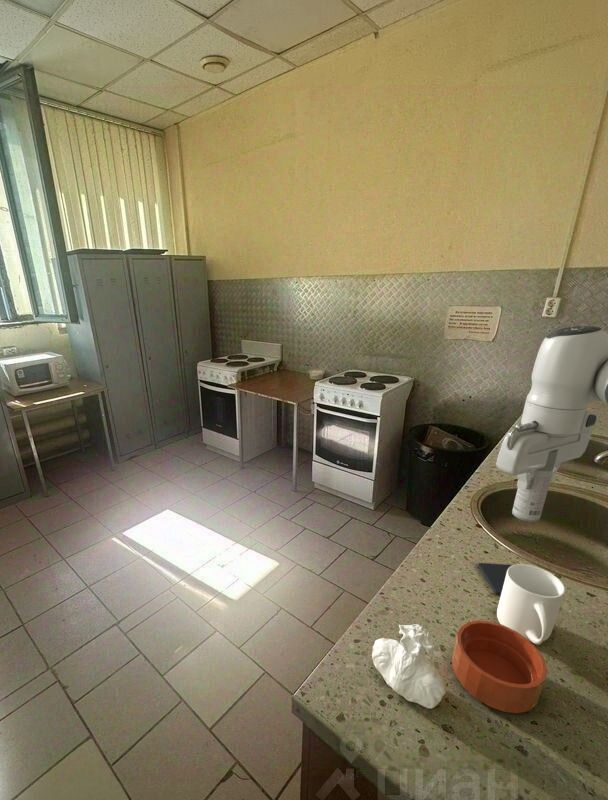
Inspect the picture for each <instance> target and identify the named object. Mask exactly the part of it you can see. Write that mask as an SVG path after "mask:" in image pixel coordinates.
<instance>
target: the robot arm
mask: <svg viewBox="0 0 608 800" xmlns="http://www.w3.org/2000/svg"><path fill="white" fill-rule="evenodd" d="M591 402H603V403H604V404H605V405H607V406H608V332H606V331H605V330H604V329H603V328H601V327H599V326H594V325H585V326H584V325H582V326H581V325H580V326H579V325H578V326H569V327H563V328H559V329H556V330H553V331H552V332H550V333H549V334H547V335H546V336H545V337H544V339H543V340H542V342H541V344H540V347H539V349H538V351H537V355H536V357H535V360H534V365H533V368H532V372H531V388H530V390H529V392H528V394H527V396H526V397H525V403H524V406H523V411H522V416H521V420H520V423H521V424H517V425H515V427H514V428H513V429H512V430H511V431H510V432H508V433H507V434H506V435H505V437H504V439H503V440H502V443H501V446H500V449H499V452H498V454H497V458H496V463H495V466H496V468H497V469H498V470H499V471H501V472H503V473H505V474H507V475H510V476H512V477H514V476H516V477H517V483H516V487H517V489H518V488H520V489H522V490H526V489H529V488H531V485H532V482H533V481H531V480H530V478H529V475H531V474H532V471H533V470H537V469H540V468H543V467H545V465H546V462H547V458H548V454H549V452H551V451H554V450H558V452H557V456H556V461H555V465H554V469H553V473H552V477H551V481H550V483H551V482H553V478H554V475H555V474H556V472H557V471H558V470H559V468H560V467H561V465H562V463H565V462H568V461H572V460H575V459H579V458H581V457H582V456H583V454H584V453H585V452H586V450H587V447H588V445H589V442H590V440H591V437H592V434H593V427H594V426H596V425H597V424H598V422H599V419H600V415H599V413H595V412H591V411H588V410H587V408H588V405H589V404H590V403H591Z"/></svg>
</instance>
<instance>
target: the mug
mask: <svg viewBox="0 0 608 800" xmlns="http://www.w3.org/2000/svg"><path fill="white" fill-rule="evenodd" d="M511 565H512V566H510V567H509V568H508V570H507V573H506V577H505V581H504V585H503V589H502V593H501V595H500V597H499V602H498V605H497V610H496V617H497V620H498V622H499V624H501V625H504V626H506V627H508V628H510V629H512V630H514V631H516V632H518V633H519V634H521V635H522V636H524V637H525V638H526V639H528V640H529V641H530V642H531V643H532V644H533V645H538V646H539V645H541V644H543V642H545V641H547V640H548V639H549V638H550V637H551V635H552V633H553V629H554V626H555V623H556V620H557V618H558V614H559V611H560V608H561V605H562V603H563V600H564V596H565V594H566V587H565V585H564V582H562V581H561V579H559V578H558V577H557V576H556V575H555V574H553V573H551V572H550V571H548V570H546V569H544V568H542V567H539V566H537V565H533V564H526V563H515V564H511Z"/></svg>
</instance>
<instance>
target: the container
mask: <svg viewBox="0 0 608 800" xmlns="http://www.w3.org/2000/svg"><path fill="white" fill-rule="evenodd" d="M557 452H558V450H554V451H551V452H549V454H548V458H547V462H546V465H545V467H543V468H540V469H537V470H533V471H532V474H531V475H529V478H530V480H531V481H533V482H532V485H531V488H529V489H526V490H522V489H520V488H518V487H517V490H516V494H515V498H514V502H513V507H512V510H511V513H512V515H513V516H514V517H515V518H517V519H518V520H522V521H524V522H529V523H537V522H539V521H540V519H541V517H542V513H543V509H544V505H545V502H546V499H547V494H548V492H549V488H550V484H551V482H552V481H551V477H552V473H553V469H554V465H555V461H556V456H557ZM550 481H551V482H550Z"/></svg>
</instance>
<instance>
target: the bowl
mask: <svg viewBox="0 0 608 800" xmlns="http://www.w3.org/2000/svg"><path fill="white" fill-rule="evenodd" d="M451 666H452V670H453V672H454V674H455V676H456V679H457V680H458V681H459V683H460V684H461V685H462V687H463V688H464V689H465V690H466V691H467V692H468V693H469V694H471V696H473V697H474V698H475V699H476V700H478V701H480V702H481V703H483V704H485V705H486V706H488V707H490V708H493V709H495V710H497V711H500V712H504V713H511V714H521V713H526V712H530V711H531V710H532V709H533V708H535V707H536V706H537V705H538V702H539V700H540V697H541V694H542V691H543V687H544V685H545V681H546V678H547V675H548V668H547V664H546V660H545V659H544V657H543V655H542V653H541V652H540V650H539V649H538V648H537V647H536V646H535V644H534V643H533V642H530V641H529V640H528V639H526V638H525V637H524V636H522V635H521V634H519V633H518V632H516V631H514V630H512V629H510V628H508V627H506V626H504V625H501V624H500V623H498V622H494V621H491V620H481V619H479V620H472V621H467V622H466V623H464V624H462V625H461V626H460V627H459V629H458V631H457V633H456V637H455V641H454V646H453V651H452V656H451Z"/></svg>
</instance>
